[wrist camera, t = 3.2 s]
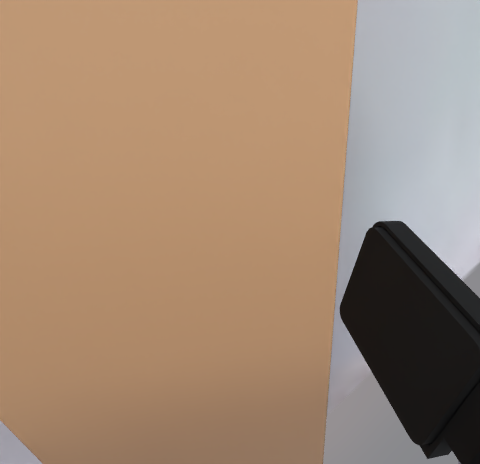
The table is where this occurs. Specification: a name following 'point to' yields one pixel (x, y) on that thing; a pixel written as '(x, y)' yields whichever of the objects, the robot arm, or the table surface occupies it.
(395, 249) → the robot arm
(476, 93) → the table surface
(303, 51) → the block
